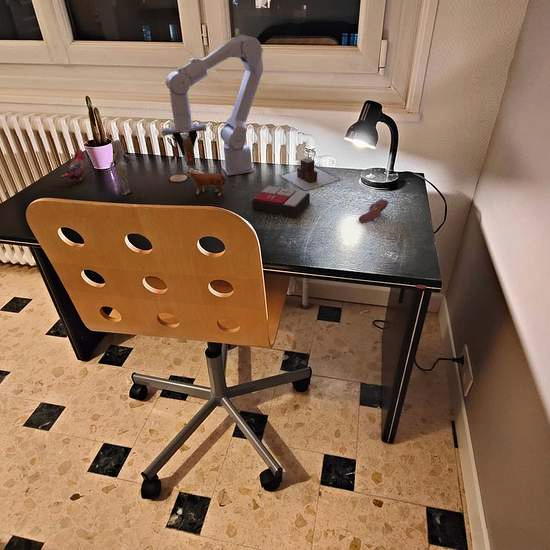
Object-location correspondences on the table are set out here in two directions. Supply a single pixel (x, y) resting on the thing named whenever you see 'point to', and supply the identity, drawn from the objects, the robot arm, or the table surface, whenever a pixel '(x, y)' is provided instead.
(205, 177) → the bull figurine
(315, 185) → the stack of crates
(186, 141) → the tin
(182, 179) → the cork coaster
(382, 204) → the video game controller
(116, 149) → the human figurine
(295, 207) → the red and grey box
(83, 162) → the decorative bird figurine
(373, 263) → the table surface
